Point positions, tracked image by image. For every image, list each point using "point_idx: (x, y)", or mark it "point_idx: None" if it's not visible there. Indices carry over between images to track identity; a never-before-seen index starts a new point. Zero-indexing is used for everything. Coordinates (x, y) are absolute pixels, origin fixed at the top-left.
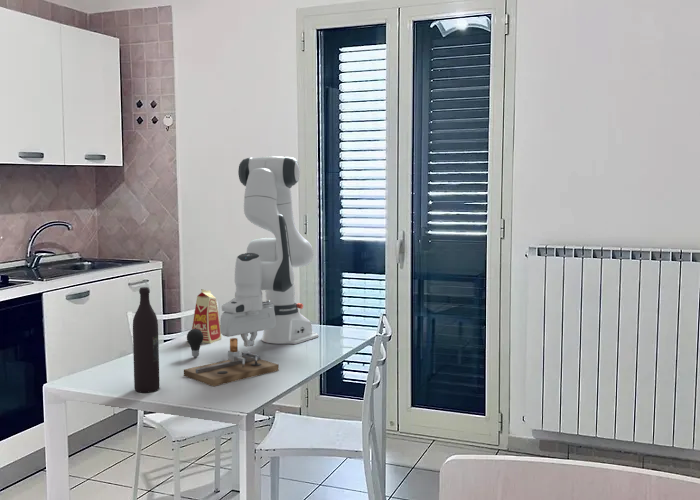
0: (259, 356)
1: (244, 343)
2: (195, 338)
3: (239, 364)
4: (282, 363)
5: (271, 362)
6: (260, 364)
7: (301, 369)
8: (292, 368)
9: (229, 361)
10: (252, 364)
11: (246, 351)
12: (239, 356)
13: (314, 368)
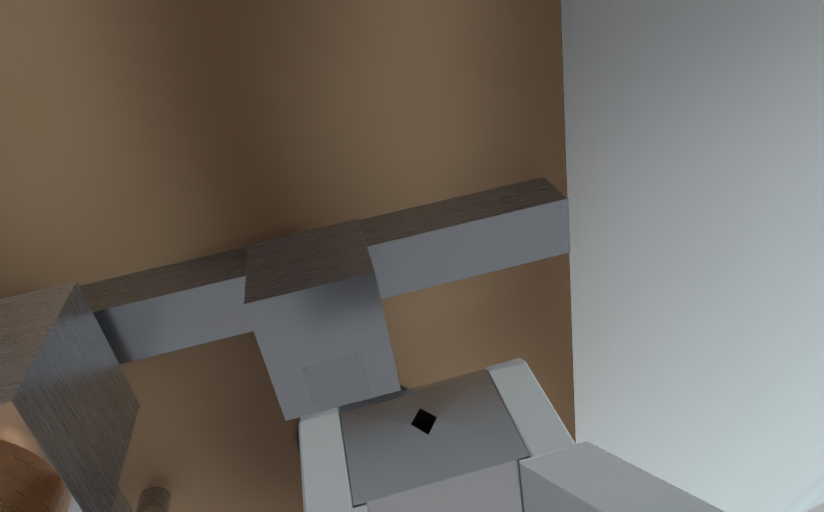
0: (560, 250)
1: (305, 479)
2: None
3: None
4: (760, 232)
5: (569, 408)
6: None
7: (712, 477)
8: (686, 428)
9: (38, 72)
10: None
11: (362, 286)
12: (123, 455)
13: (798, 487)
